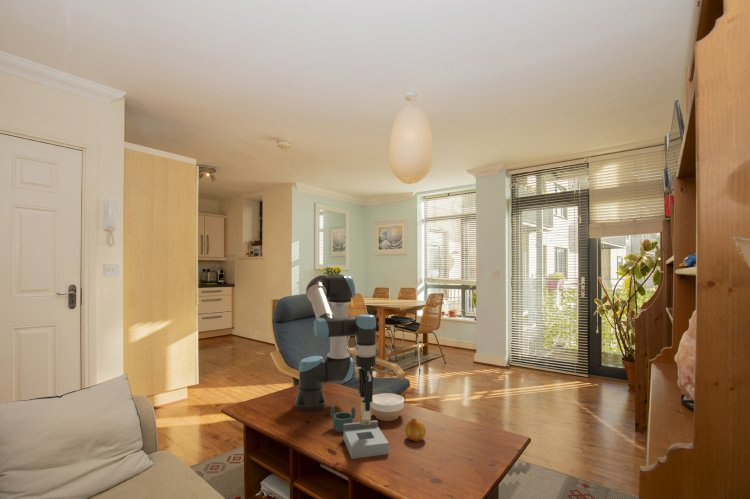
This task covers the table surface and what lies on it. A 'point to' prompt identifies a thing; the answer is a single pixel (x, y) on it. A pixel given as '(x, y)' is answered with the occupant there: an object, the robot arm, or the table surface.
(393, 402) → the bowl
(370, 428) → the jig
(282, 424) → the table surface
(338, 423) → the bracket
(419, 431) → the fruit
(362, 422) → the brass cylinder
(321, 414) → the table surface
